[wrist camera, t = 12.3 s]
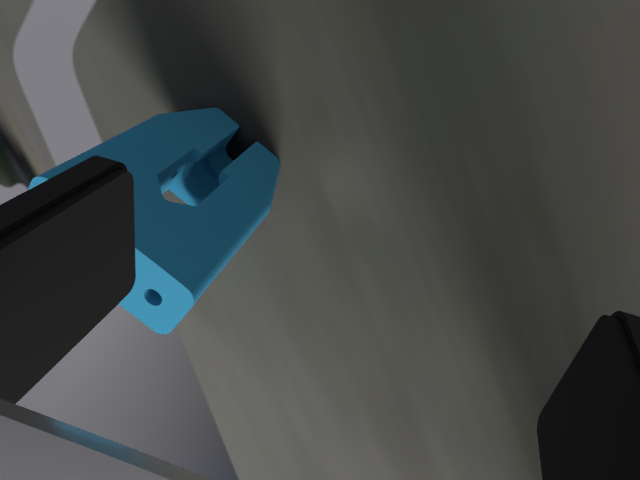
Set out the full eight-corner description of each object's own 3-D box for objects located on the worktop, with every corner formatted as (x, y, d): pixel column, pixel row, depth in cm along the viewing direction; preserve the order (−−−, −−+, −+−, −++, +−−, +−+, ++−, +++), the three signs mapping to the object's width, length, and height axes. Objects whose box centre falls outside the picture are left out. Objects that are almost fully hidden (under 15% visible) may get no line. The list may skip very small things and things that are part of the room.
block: (173, 129, 49) (13, 223, 32) (197, 90, 46) (36, 169, 30) (269, 209, 51) (164, 339, 34) (298, 175, 48) (199, 298, 31)
